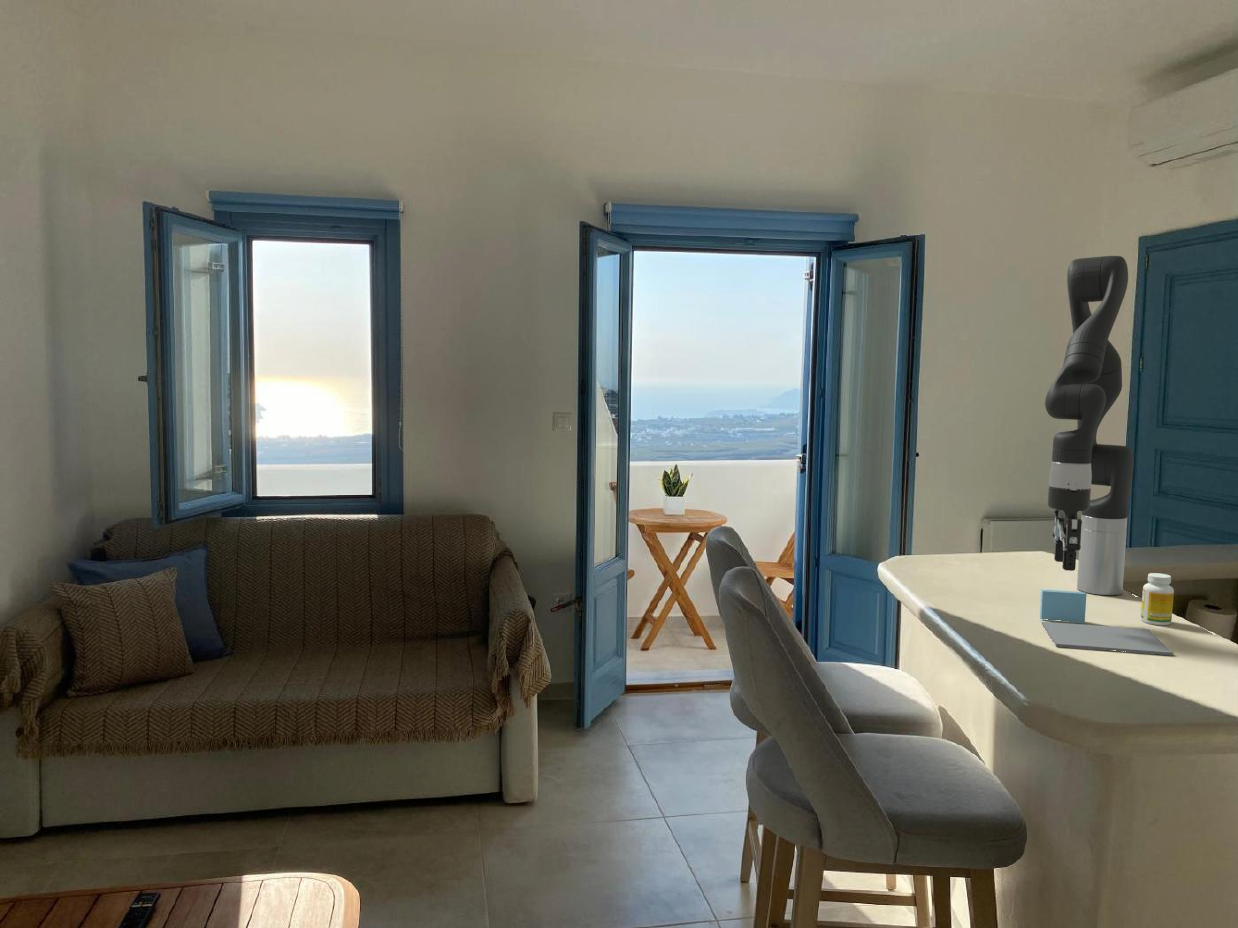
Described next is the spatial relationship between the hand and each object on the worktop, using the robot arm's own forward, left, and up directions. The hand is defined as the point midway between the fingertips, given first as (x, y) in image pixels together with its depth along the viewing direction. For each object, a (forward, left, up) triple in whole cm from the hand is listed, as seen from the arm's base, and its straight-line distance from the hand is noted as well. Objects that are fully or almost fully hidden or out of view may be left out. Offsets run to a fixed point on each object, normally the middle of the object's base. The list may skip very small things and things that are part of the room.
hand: (1064, 565), depth 187 cm
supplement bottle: (-4, +18, -11) cm, 22 cm away
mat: (+12, +5, -11) cm, 17 cm away
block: (0, 0, -11) cm, 11 cm away
